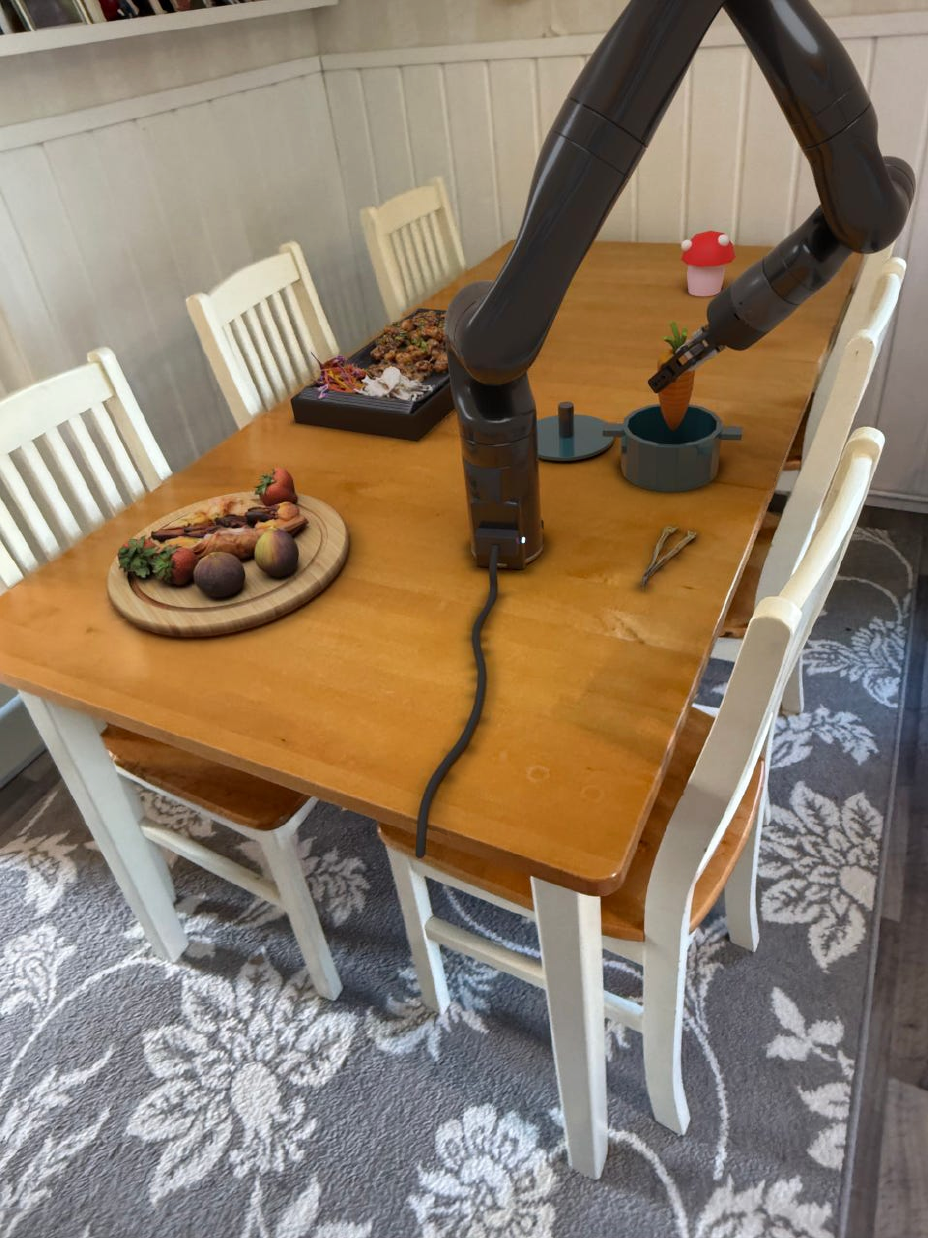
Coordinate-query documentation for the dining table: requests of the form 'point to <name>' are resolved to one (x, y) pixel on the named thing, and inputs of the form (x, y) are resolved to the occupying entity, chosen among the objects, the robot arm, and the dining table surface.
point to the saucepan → (671, 448)
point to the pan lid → (570, 435)
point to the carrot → (675, 383)
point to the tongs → (679, 546)
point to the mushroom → (707, 261)
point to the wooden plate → (229, 561)
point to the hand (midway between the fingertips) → (663, 379)
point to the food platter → (384, 383)
